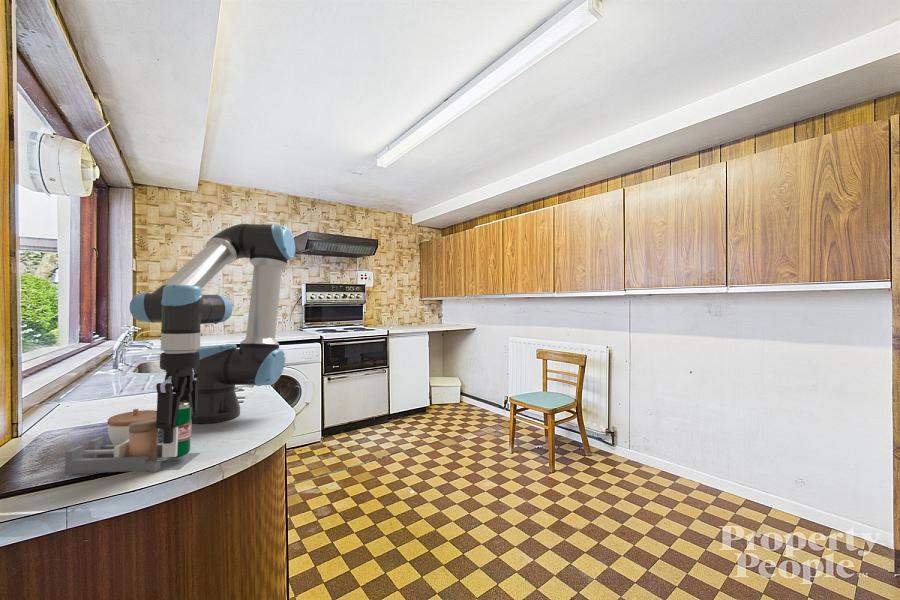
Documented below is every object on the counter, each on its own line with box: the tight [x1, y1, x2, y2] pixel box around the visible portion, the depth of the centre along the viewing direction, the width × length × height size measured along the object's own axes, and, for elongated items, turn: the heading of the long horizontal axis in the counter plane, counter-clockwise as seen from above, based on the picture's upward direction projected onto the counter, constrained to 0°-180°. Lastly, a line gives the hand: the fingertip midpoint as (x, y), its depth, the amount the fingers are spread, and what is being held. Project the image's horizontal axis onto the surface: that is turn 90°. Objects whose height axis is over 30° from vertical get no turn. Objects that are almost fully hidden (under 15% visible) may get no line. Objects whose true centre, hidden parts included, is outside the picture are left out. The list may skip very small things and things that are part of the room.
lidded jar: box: [107, 408, 160, 445], centre depth 98 cm, size 11×11×9 cm
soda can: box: [166, 401, 192, 458], centre depth 88 cm, size 5×5×12 cm
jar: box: [129, 419, 159, 461], centre depth 87 cm, size 5×5×9 cm
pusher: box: [84, 440, 129, 457], centre depth 86 cm, size 6×11×4 cm, turn 99°
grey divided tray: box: [64, 435, 201, 475], centre depth 87 cm, size 12×22×5 cm, turn 99°
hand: (176, 451), depth 88 cm, fingers closed on soda can, 5 cm apart
